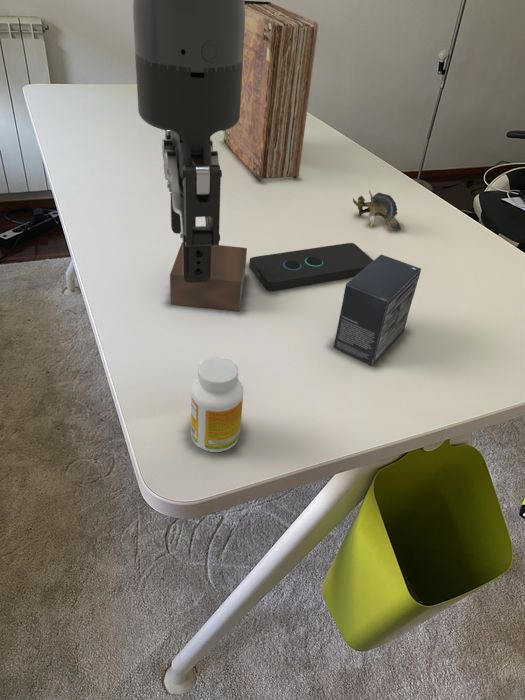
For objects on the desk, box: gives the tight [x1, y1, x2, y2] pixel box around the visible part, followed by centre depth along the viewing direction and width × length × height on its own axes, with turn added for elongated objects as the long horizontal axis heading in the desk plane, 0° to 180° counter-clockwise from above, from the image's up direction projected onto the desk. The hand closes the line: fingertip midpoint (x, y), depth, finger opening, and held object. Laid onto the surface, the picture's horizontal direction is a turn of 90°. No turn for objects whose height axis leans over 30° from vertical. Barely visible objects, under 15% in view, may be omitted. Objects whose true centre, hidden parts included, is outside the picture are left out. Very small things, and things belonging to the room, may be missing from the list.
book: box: [223, 0, 319, 183], centre depth 119 cm, size 25×9×30 cm, turn 21°
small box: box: [333, 254, 422, 366], centre depth 74 cm, size 11×6×10 cm, turn 145°
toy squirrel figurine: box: [352, 190, 402, 232], centre depth 105 cm, size 8×7×9 cm
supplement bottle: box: [190, 356, 244, 453], centre depth 58 cm, size 5×5×10 cm
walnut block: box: [169, 243, 248, 312], centre depth 82 cm, size 10×10×5 cm
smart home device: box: [248, 242, 375, 292], centre depth 90 cm, size 8×2×20 cm
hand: (189, 254), depth 49 cm, fingers open, 8 cm apart
